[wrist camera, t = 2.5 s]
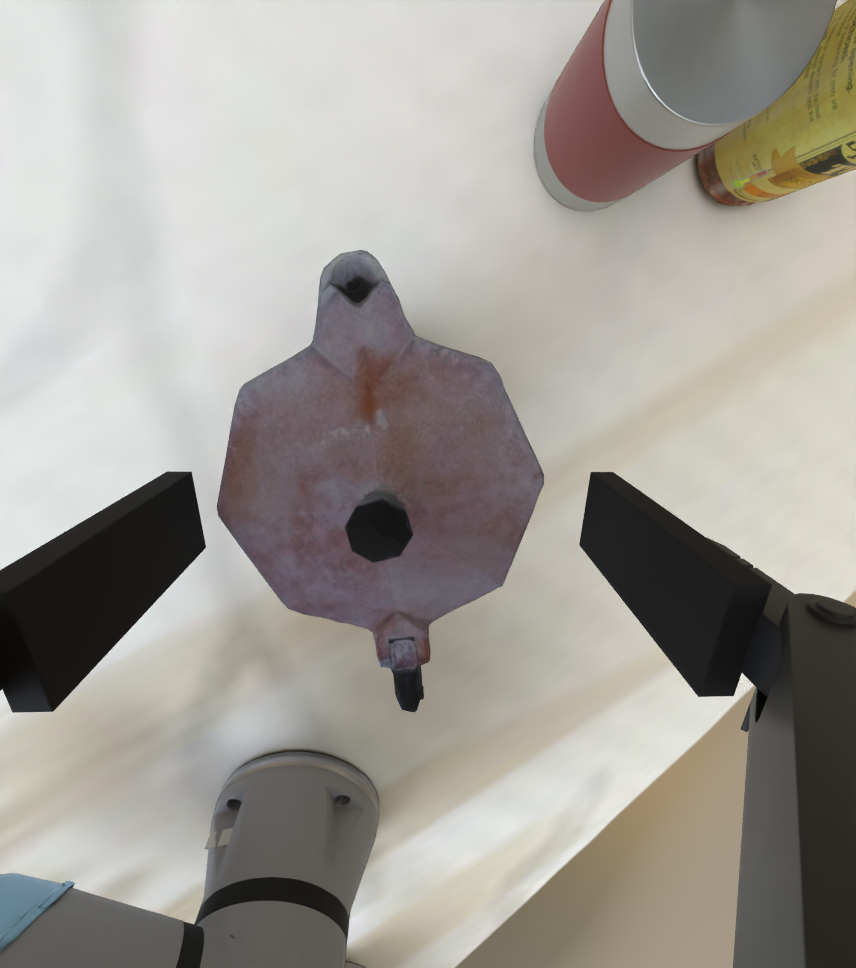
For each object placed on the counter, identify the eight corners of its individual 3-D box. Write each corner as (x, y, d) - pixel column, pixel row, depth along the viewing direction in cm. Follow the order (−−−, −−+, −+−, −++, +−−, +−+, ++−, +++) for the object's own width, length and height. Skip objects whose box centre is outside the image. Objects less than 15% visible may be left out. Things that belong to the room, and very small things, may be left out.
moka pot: (452, 286, 26) (573, 165, 7) (483, 511, 31) (597, 782, 12) (301, 313, 26) (27, 265, 7) (356, 533, 31) (281, 834, 13)
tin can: (641, 214, 25) (805, 132, 15) (527, 210, 25) (612, 124, 14) (665, 66, 23) (880, -155, 12) (539, 60, 22) (652, -172, 12)
